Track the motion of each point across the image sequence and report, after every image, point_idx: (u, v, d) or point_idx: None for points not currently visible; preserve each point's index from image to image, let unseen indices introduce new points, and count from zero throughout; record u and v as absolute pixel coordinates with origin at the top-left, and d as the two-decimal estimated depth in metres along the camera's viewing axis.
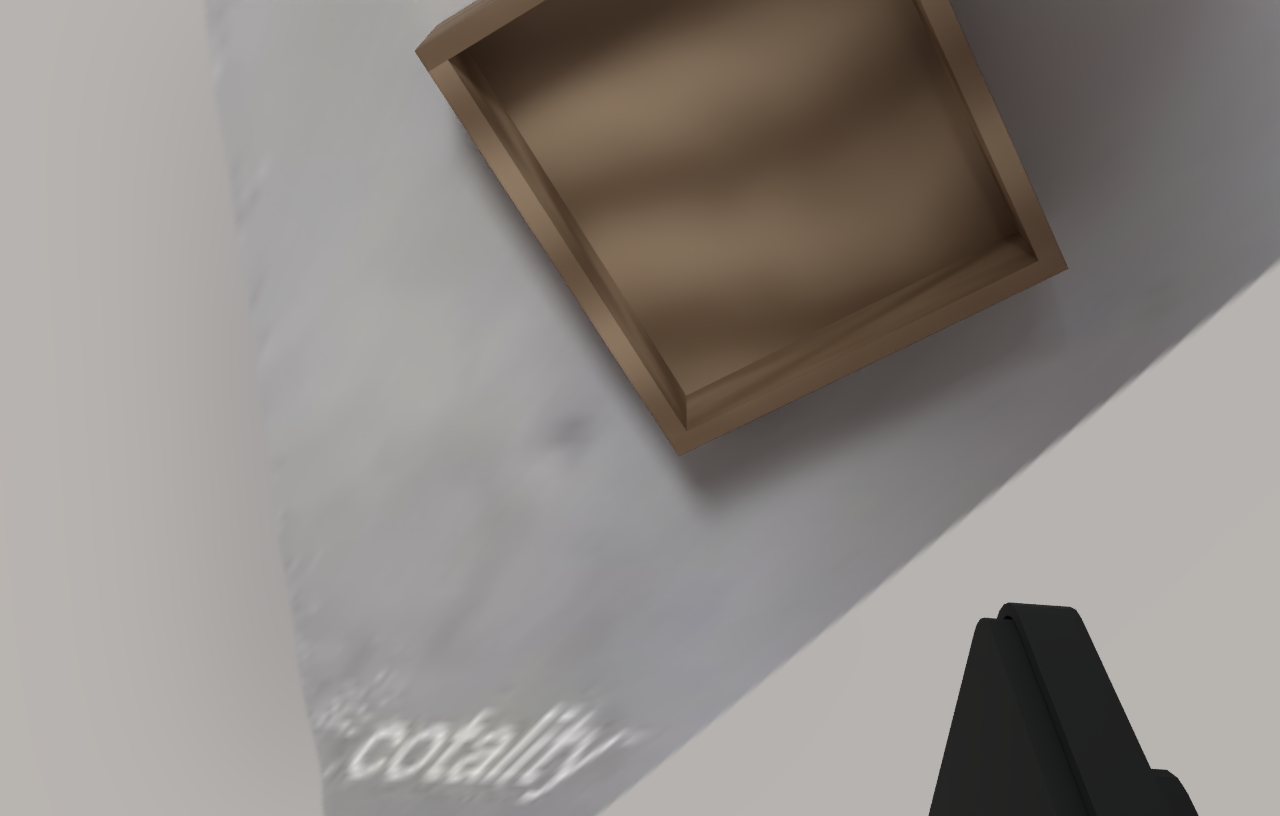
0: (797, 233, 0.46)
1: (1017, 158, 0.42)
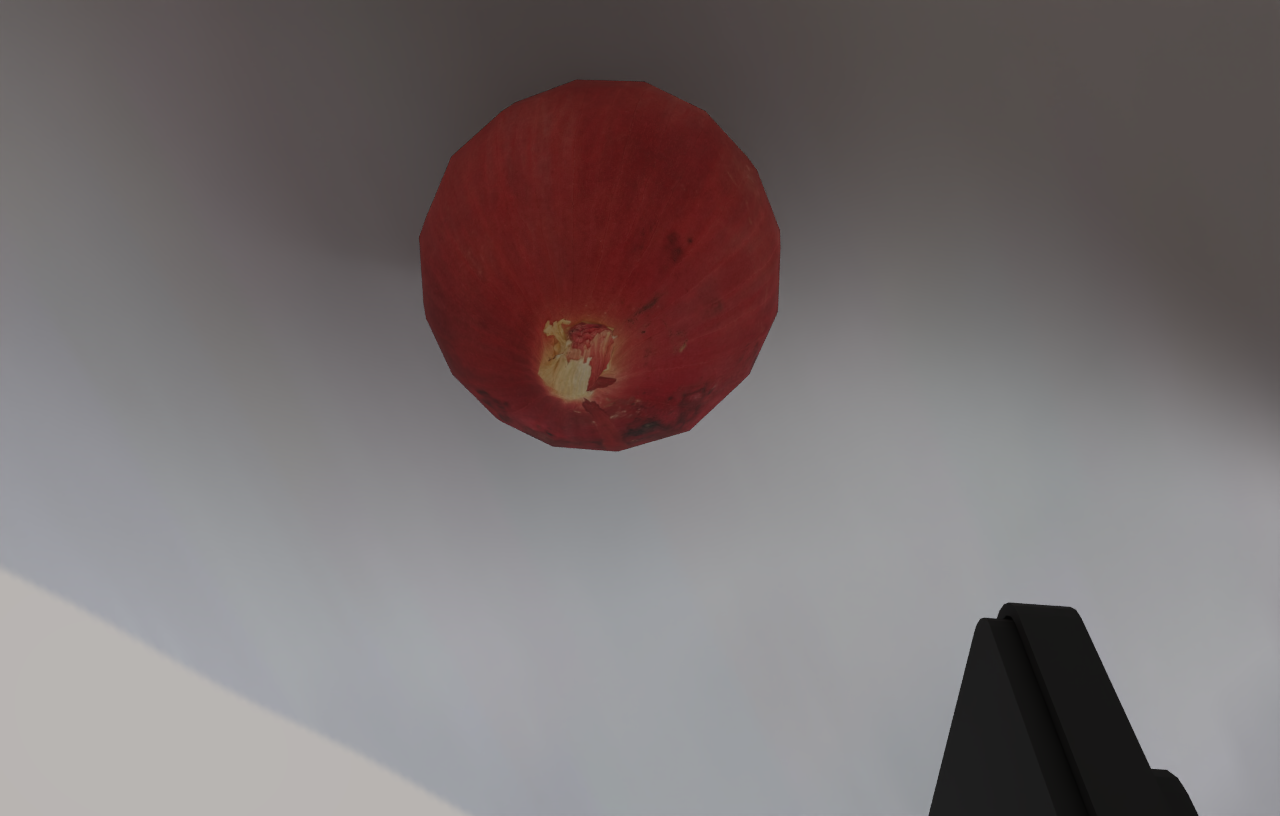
0: None
1: None
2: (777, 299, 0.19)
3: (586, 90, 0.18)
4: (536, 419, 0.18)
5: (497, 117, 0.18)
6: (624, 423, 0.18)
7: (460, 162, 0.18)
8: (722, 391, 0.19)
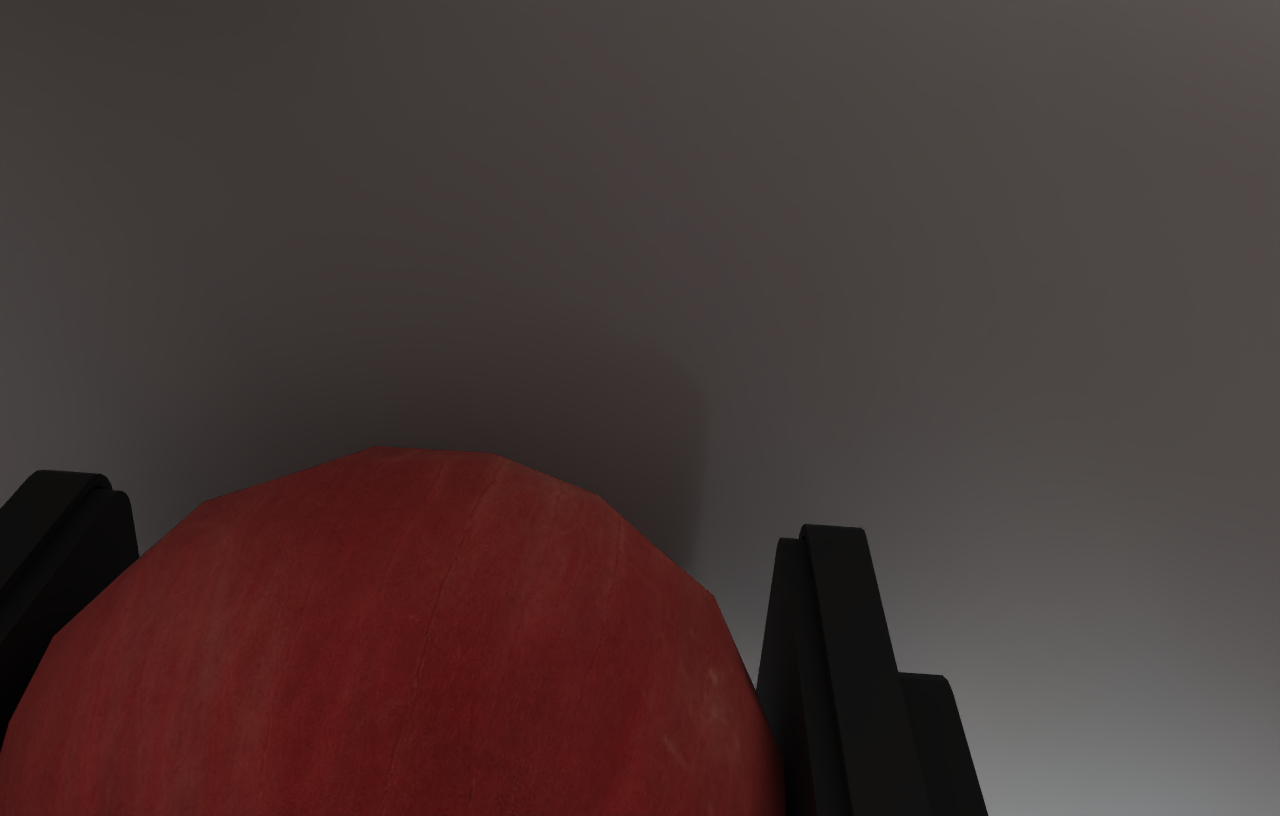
0: None
1: None
2: None
3: (331, 529, 0.08)
4: None
5: (133, 578, 0.08)
6: None
7: (40, 695, 0.08)
8: None
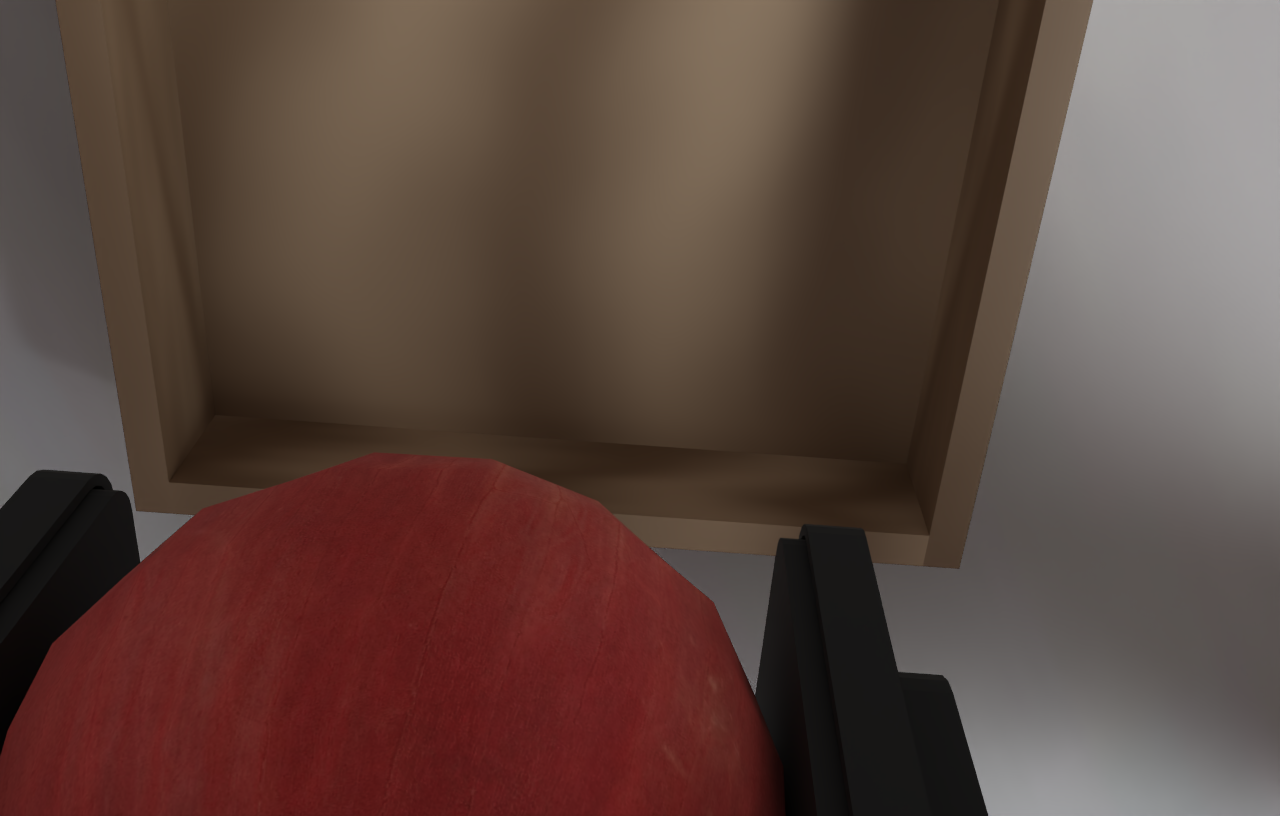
0: (374, 122, 0.25)
1: None
2: None
3: (330, 537, 0.08)
4: None
5: (132, 586, 0.08)
6: None
7: (39, 702, 0.08)
8: None
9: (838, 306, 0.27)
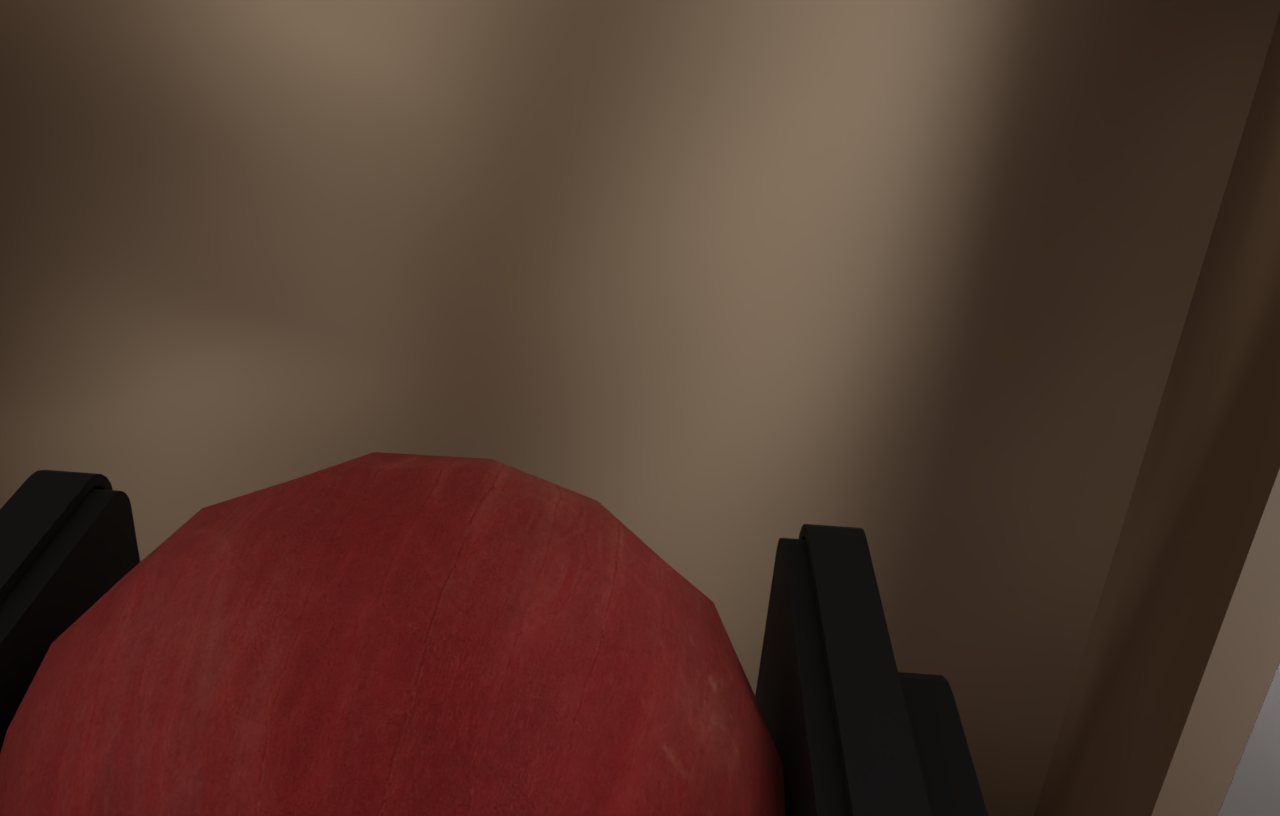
0: (211, 355, 0.16)
1: None
2: None
3: (329, 537, 0.08)
4: None
5: (131, 585, 0.08)
6: None
7: (38, 702, 0.08)
8: None
9: (939, 619, 0.17)
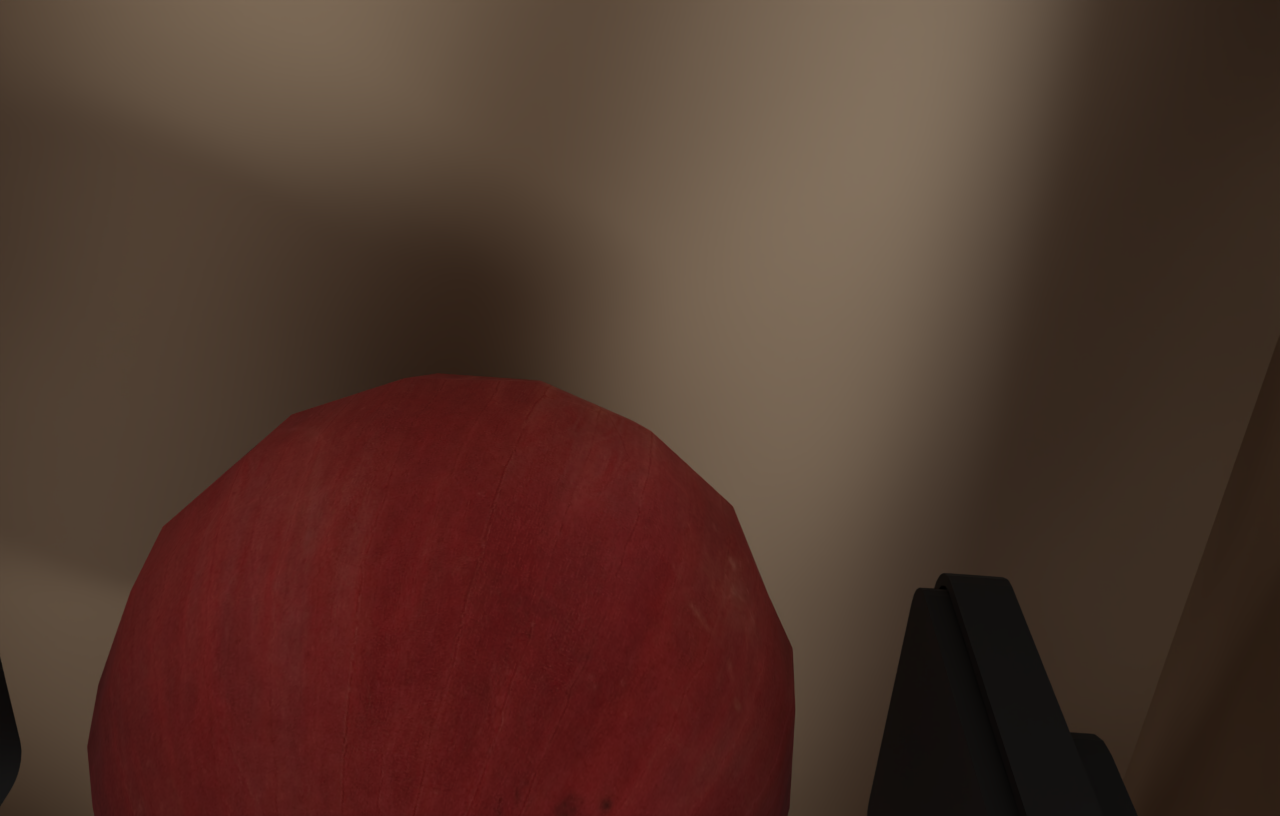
0: (127, 443, 0.14)
1: None
2: (789, 793, 0.10)
3: (408, 427, 0.09)
4: None
5: (237, 470, 0.09)
6: None
7: (158, 566, 0.09)
8: None
9: None
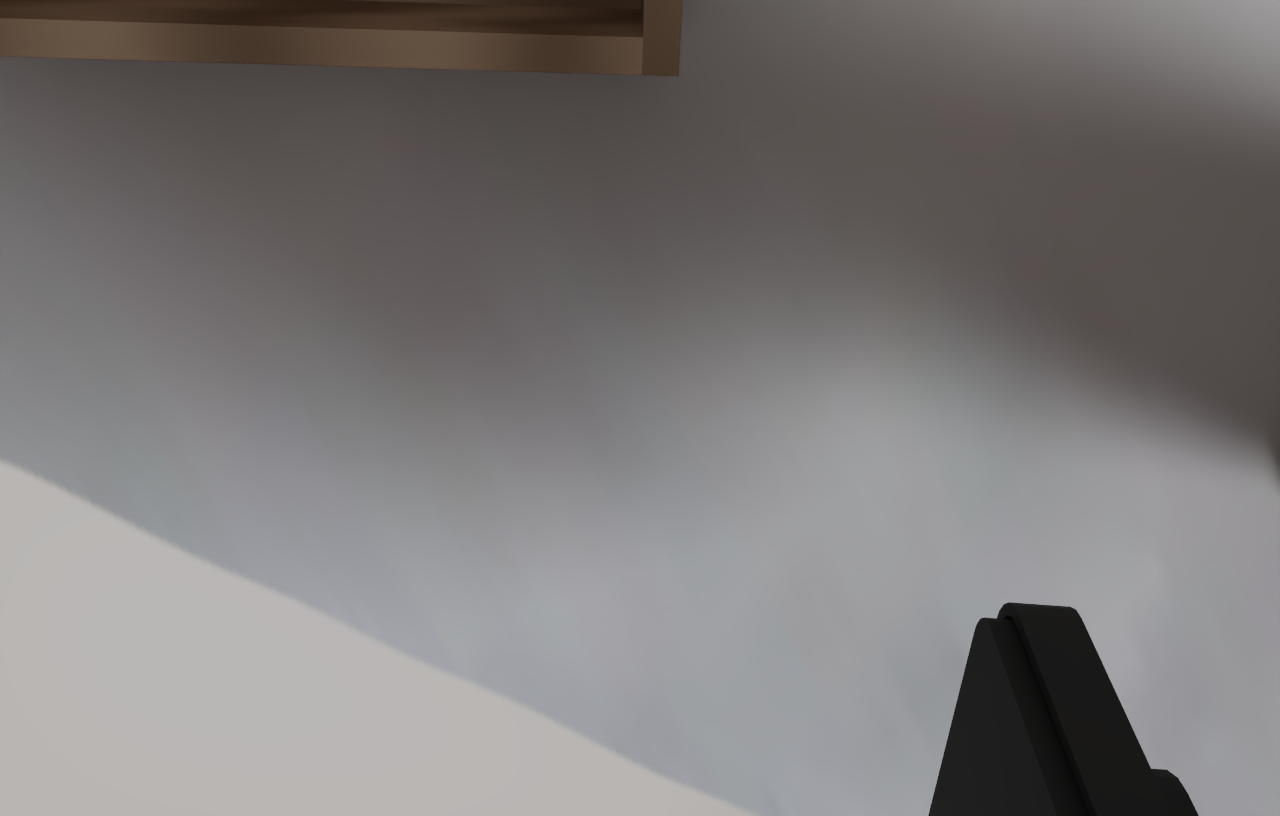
0: None
1: (60, 55, 0.26)
2: None
3: None
4: None
5: None
6: None
7: None
8: None
9: None
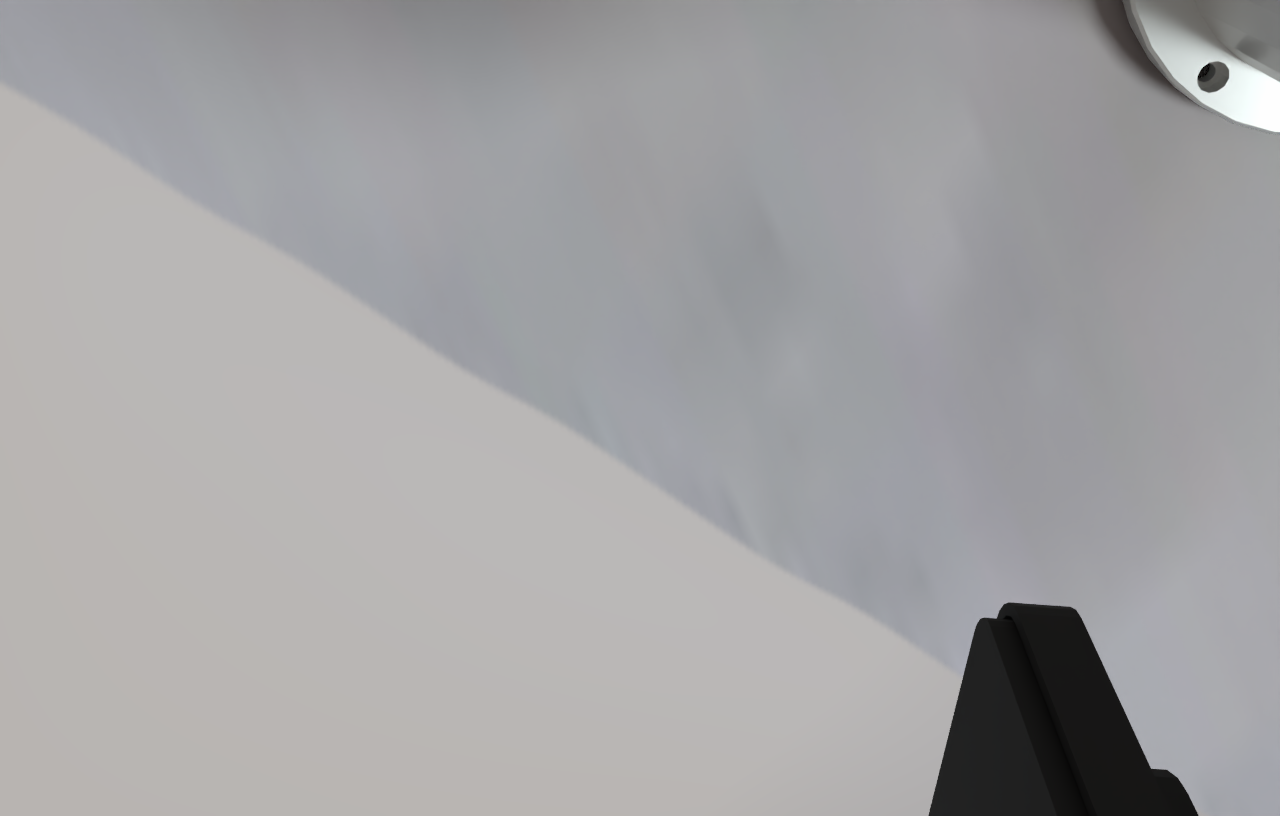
0: None
1: None
2: None
3: None
4: None
5: None
6: None
7: None
8: None
9: None
